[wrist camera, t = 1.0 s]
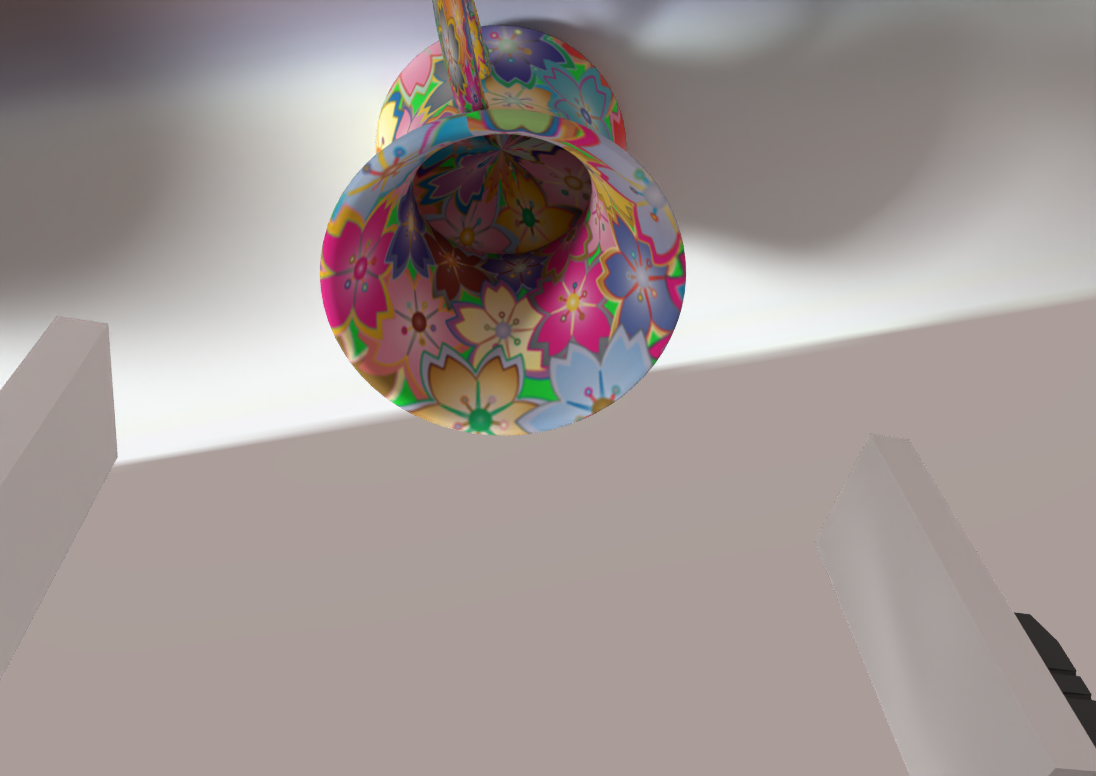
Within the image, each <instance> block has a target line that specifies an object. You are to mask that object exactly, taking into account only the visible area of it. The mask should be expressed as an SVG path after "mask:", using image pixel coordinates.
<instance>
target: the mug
mask: <svg viewBox="0 0 1096 776" xmlns="http://www.w3.org/2000/svg"><path fill="white" fill-rule="evenodd" d="M432 2H433V8H434V15H435V20H436V26H437V31H438V36H439V41H437V42H436V43H434V44H432V45H431V46H429V47H428V48H426V49H425V50H424V51H422V52H421V53H420V54H418V55H417V56H416V57H415V58H414V59H413V60H412V61H411V62H410V63H409V64H408V65H407V66H406V67H405V68H404V70H403V71H402V72H401V73H400V75H399V76H398V77H397V79H396V80H395V82H394V83H393V85H392V87H391V89H390V90H389V92H388V94H387V96H386V99H385V101H384V104H383V106H382V109H381V113H380V116H379V121H378V126H377V134H376V155H375V156H374V157H373V158H372V159H371V160H370V161H369V162H367V163H366V164H365V165H364V167H363V168H362V169H361V170H360V171H359V172H358V173H357V174H356V176H355V177H354V178H353V179H352V181H351V182H350V184H349V185H348V186H347V188H346V189H345V191H344V192H343V194H342V196H341V197H340V199H339V201H338V203H337V205H336V207H335V209H334V211H333V214H332V216H331V219H330V221H329V223H328V227H327V230H326V234H325V237H324V241H323V247H322V253H321V262H320V282H321V293H322V298H323V304H324V308H325V311H326V315H327V318H328V321H329V324H330V326H331V329H332V331H333V333H334V336H335V338H336V340H337V341H338V343H339V345H340V347H341V349H342V351H343V352H344V354H345V355H346V357H347V358H348V359H349V361H350V362H351V364H352V365H353V366H354V367H355V369H356V370H357V371H358V372H359V373H360V375H361V376H362V377H363V378H364V379H365V380H366V381H367V382H368V383H369V384H370V385H371V386H372V387H373V388H375V389H376V390H377V391H378V392H379V393H381V394H382V395H383V396H384V397H386V398H387V399H388V400H390V401H391V402H393V403H394V404H396V405H397V406H399V407H401V408H402V409H404V410H406V411H408V412H409V413H411V414H413V415H415V416H418V417H420V418H422V419H424V420H426V421H429V422H432V423H435V424H437V425H440V426H443V427H447V428H451V429H455V430H459V431H463V432H469V433H476V434H484V435H503V436H505V435H523V434H531V433H538V432H543V431H548V430H552V429H556V428H559V427H563V426H566V425H569V424H572V423H575V422H577V421H580V420H582V419H584V418H587V417H589V416H591V415H593V414H595V413H597V412H599V411H600V410H602V409H604V408H606V407H607V406H609V405H611V404H612V403H614V402H615V401H616V400H618V399H619V398H621V397H622V396H623V395H625V394H626V393H627V392H628V391H629V390H631V389H632V388H633V387H634V386H635V385H636V384H637V383H638V382H639V381H640V380H641V379H642V378H643V377H644V376H645V375H646V374H647V373H648V371H649V370H650V369H651V368H652V367H653V365H654V364H655V363H656V361H657V360H658V358H659V357H660V355H661V354H662V353H663V351H664V349H665V347H666V346H667V344H668V342H669V340H670V338H671V336H672V334H673V331H674V329H675V326H676V324H677V322H678V318H679V315H680V312H681V308H682V304H683V299H684V293H685V283H686V260H685V253H684V246H683V242H682V238H681V234H680V230H679V227H678V224H677V222H676V219H675V216H674V214H673V211H672V209H671V207H670V205H669V203H668V202H667V200H666V198H665V196H664V194H663V193H662V191H661V190H660V188H659V187H658V185H657V184H656V182H655V181H654V180H653V179H652V177H651V176H650V175H649V174H648V173H647V171H646V170H645V169H644V168H643V167H642V166H641V165H640V164H639V163H638V162H637V161H636V160H635V159H634V158H633V157H632V156H631V155H630V154H628V153H627V152H626V135H625V128H624V123H623V119H622V115H621V112H620V109H619V106H618V103H617V101H616V98H615V97H614V95H613V93H612V91H611V89H610V87H609V86H608V84H607V82H606V81H605V79H604V78H603V77H602V75H601V74H600V73H599V72H598V70H597V69H596V68H595V67H594V66H593V65H592V64H591V63H590V62H589V61H588V60H587V59H586V58H585V57H584V56H583V55H581V54H580V53H579V52H578V51H576V50H575V49H574V48H572V47H570V46H569V45H567V44H566V43H564V42H562V41H560V40H558V39H557V38H555V37H552V36H550V35H547V34H545V33H542V32H539V31H536V30H532V29H529V28H523V27H517V26H506V25H494V26H483V27H481V26H480V22H479V18H478V14H477V10H476V7H475V3H474V0H432Z"/></svg>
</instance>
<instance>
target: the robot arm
mask: <svg viewBox="0 0 1096 776" xmlns="http://www.w3.org/2000/svg"><path fill="white" fill-rule="evenodd" d="M117 457H118V456H117V442H116V428H115V413H114V399H113V385H112V371H111V357H110V343H109V329H108V324H106V323H99V322H93V321H86V320H79V319H72V318H65V317H58V316H57V317H56V318H55V319H54V321H53V322H52V323H51V325H50V326H49V327H48V328H47V330H46V331H45V332H44V334H43V335H42V336H41V338H40V339H39V340H38V342H37V343H36V344H35V346H34V347H33V348H32V349H31V351H30V352H29V353H28V355H27V356H26V357H25V359H24V360H23V361H22V363H21V364H20V365H19V367H18V368H17V369H16V370H15V372H14V373H13V374H12V376H11V377H10V378H9V380H8V381H7V382H6V384H5V385H4V386H3V388H2V389H1V390H0V680H1V678H2V676H3V674H4V672H5V670H6V668H7V666H8V665H9V663H10V661H11V659H12V657H13V655H14V653H15V651H16V649H17V647H18V646H19V644H20V642H21V640H22V638H23V636H24V634H25V632H26V630H27V628H28V626H29V625H30V623H31V621H32V619H33V617H34V615H35V613H36V611H37V609H38V607H39V606H40V604H41V602H42V599H43V598H44V596H45V594H46V592H47V590H48V588H49V586H50V585H51V583H52V581H53V579H54V577H55V575H56V573H57V571H58V569H59V567H60V566H61V564H62V562H63V560H64V558H65V556H66V554H67V552H68V550H69V548H70V546H71V544H72V543H73V541H74V539H75V537H76V535H77V533H78V531H79V529H80V527H81V526H82V523H83V522H84V520H85V518H86V516H87V514H88V512H89V510H90V508H91V506H92V504H93V503H94V500H95V499H96V496H97V495H98V493H99V491H100V489H101V487H102V485H103V483H104V482H105V480H106V478H107V476H108V474H109V472H110V470H111V468H112V466H113V465H114V463H115V461H116V459H117ZM815 544H816V547H817V550H818V552H819V554H820V557H821V559H822V562H823V564H824V567H825V569H826V572H827V574H828V577H829V579H830V581H831V584H832V586H833V588H834V591H835V594H836V596H837V599H838V601H839V604H840V606H841V608H842V611H843V613H844V616H845V618H846V620H847V623H848V626H849V628H850V631H851V633H852V635H853V638H854V640H855V643H856V645H857V648H858V650H859V653H860V655H861V658H862V660H863V662H864V665H865V667H866V670H867V672H868V675H869V677H870V679H871V682H872V684H873V687H874V689H875V692H876V694H877V697H878V699H879V702H880V704H881V706H882V709H883V712H884V714H885V716H886V719H887V721H888V724H889V726H890V728H891V731H892V734H893V736H894V738H895V741H896V743H897V746H898V748H899V751H900V753H901V756H902V758H903V760H904V763H905V766H906V768H907V770H908V773H909V775H910V776H1096V701H1094V700H1091V693H1090V692H1089V690H1088V688H1087V687H1086V685H1085V684H1084V682H1083V680H1082V679H1081V677H1079V676H1076V669H1075V668H1074V667H1073V665H1072V663H1071V662H1070V660H1069V658H1068V657H1067V655H1066V654H1065V652H1064V650H1063V649H1062V647H1061V646H1060V644H1059V643H1058V641H1057V640H1056V639H1055V638H1054V637H1053V636H1052V635H1051V634H1050V633H1049V632H1048V631H1046V629H1045V628H1043V627H1042V626H1041V625H1040V624H1039V623H1038V622H1037V621H1036V620H1035V619H1034V618H1033V617H1032V616H1031V615H1030V614H1022V613H1014V612H1013V611H1012V609H1011V607H1010V606H1009V604H1008V602H1007V601H1006V599H1005V597H1004V596H1003V594H1002V593H1001V591H1000V589H999V587H998V586H997V584H996V582H995V581H994V579H993V577H992V576H991V574H990V573H989V571H988V569H987V568H986V566H985V564H984V563H983V561H982V559H981V558H980V556H979V554H978V553H977V551H976V550H975V548H974V546H973V544H972V543H971V541H970V539H969V538H968V536H967V535H966V533H965V531H964V529H963V528H962V526H961V524H960V523H959V521H958V520H957V518H956V516H955V515H954V513H953V511H952V510H951V508H950V506H949V505H948V503H947V501H946V500H945V498H944V496H943V495H942V493H941V491H940V490H939V488H938V487H937V485H936V483H935V482H934V480H933V478H932V477H931V475H930V473H929V472H928V470H927V468H926V467H925V465H924V463H923V462H922V460H921V458H920V457H919V455H918V453H917V452H916V450H915V448H914V447H913V445H912V443H911V442H910V440H909V439H905V438H898V437H891V436H883V435H877V434H870V435H869V437H868V439H867V441H866V443H865V445H864V447H863V449H862V451H861V453H860V454H859V456H858V458H857V461H856V462H855V464H854V466H853V468H852V470H851V472H850V474H849V476H848V478H847V480H846V482H845V483H844V486H843V487H842V489H841V492H840V493H839V495H838V497H837V499H836V501H835V503H834V505H833V507H832V509H831V511H830V513H829V514H828V517H827V518H826V520H825V522H824V524H823V526H822V528H821V530H820V532H819V534H818V536H817V538H816V540H815Z"/></svg>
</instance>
